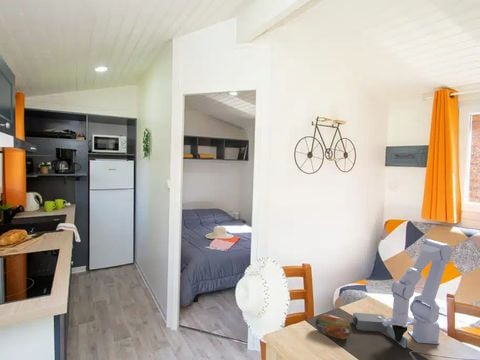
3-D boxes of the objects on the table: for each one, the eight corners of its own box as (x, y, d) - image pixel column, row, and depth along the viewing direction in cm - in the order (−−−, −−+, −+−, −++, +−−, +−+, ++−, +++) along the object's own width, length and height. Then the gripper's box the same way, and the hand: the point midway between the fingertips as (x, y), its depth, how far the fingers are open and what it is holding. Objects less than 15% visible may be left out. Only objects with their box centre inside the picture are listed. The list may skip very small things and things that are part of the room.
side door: (386, 332, 132) (387, 323, 132) (389, 332, 132) (389, 323, 132) (403, 348, 121) (404, 338, 121) (406, 347, 122) (407, 337, 121)
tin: (314, 331, 131) (316, 313, 130) (316, 327, 134) (317, 310, 133) (349, 342, 124) (351, 323, 123) (350, 338, 127) (352, 319, 126)
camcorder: (381, 323, 140) (382, 313, 139) (388, 332, 133) (389, 321, 132) (350, 321, 140) (351, 311, 140) (355, 329, 133) (356, 319, 133)
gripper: (390, 315, 118) (388, 347, 119) (423, 315, 120) (419, 346, 121) (380, 307, 125) (377, 337, 126) (410, 306, 127) (408, 336, 128)
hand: (397, 341), depth 124 cm, fingers closed
